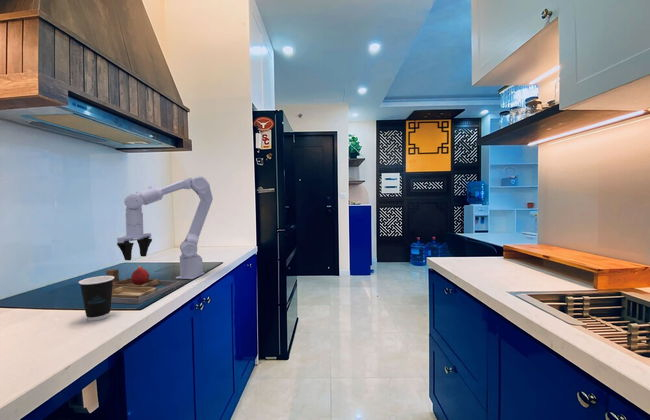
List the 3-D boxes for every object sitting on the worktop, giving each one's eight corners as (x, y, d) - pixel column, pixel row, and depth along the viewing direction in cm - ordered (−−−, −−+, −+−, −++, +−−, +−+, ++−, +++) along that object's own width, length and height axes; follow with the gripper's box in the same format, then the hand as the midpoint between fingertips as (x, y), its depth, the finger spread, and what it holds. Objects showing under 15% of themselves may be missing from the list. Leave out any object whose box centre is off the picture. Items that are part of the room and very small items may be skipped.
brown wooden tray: (146, 283, 114) (146, 279, 114) (180, 285, 112) (180, 281, 111) (97, 302, 94) (97, 297, 94) (138, 304, 91) (138, 299, 91)
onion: (143, 289, 105) (142, 267, 105) (127, 289, 105) (126, 268, 105) (152, 284, 111) (152, 264, 111) (138, 284, 111) (137, 264, 111)
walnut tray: (119, 283, 115) (118, 267, 114) (159, 284, 112) (158, 268, 112) (99, 289, 106) (98, 272, 106) (141, 291, 103) (141, 274, 103)
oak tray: (113, 291, 104) (112, 274, 103) (157, 293, 101) (156, 275, 101) (90, 300, 95) (89, 280, 95) (137, 302, 92) (137, 282, 92)
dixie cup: (104, 310, 86) (103, 274, 86) (122, 313, 83) (120, 276, 83) (73, 320, 79) (72, 281, 78) (91, 325, 76) (90, 284, 76)
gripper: (140, 223, 121) (141, 254, 122) (109, 226, 107) (111, 261, 107) (155, 223, 120) (156, 254, 121) (126, 226, 106) (127, 262, 106)
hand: (135, 258), depth 114 cm, fingers open, 7 cm apart
